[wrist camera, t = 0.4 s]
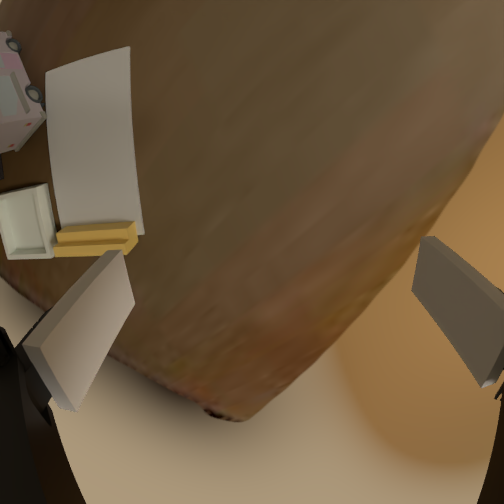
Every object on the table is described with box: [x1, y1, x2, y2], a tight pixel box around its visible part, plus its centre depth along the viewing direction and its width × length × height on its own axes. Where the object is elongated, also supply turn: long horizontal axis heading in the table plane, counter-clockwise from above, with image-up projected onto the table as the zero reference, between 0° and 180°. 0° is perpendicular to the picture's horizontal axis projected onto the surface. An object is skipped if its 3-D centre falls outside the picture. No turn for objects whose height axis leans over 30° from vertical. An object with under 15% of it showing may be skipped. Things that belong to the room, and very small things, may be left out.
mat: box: [45, 46, 145, 235], centre depth 36 cm, size 26×14×1 cm, turn 2°
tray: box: [0, 183, 58, 259], centre depth 38 cm, size 11×11×3 cm
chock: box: [53, 221, 138, 257], centre depth 38 cm, size 3×12×4 cm, turn 92°
